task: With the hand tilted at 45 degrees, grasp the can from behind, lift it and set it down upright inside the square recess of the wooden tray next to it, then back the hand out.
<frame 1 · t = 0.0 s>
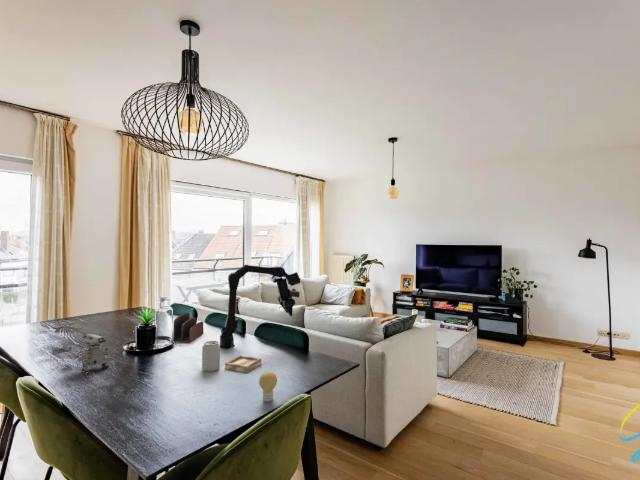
hand: (289, 314, 195), 15 cm above the table, tool pointing down, fingers open, 9 cm apart
wooden tray: (243, 366, 155), on the table
letter holder: (188, 338, 200), on the table
figurine: (93, 369, 149), on the table
light bulb: (267, 400, 122), on the table
can: (210, 369, 151), on the table
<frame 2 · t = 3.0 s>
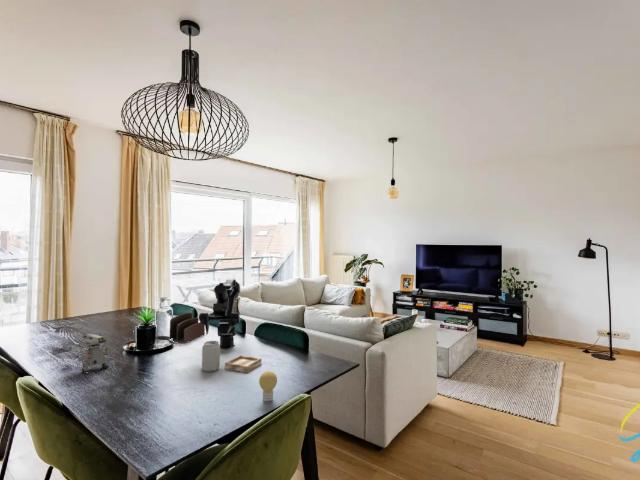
hand: (216, 333, 159), 14 cm above the table, tool tilted 45°, fingers open, 9 cm apart
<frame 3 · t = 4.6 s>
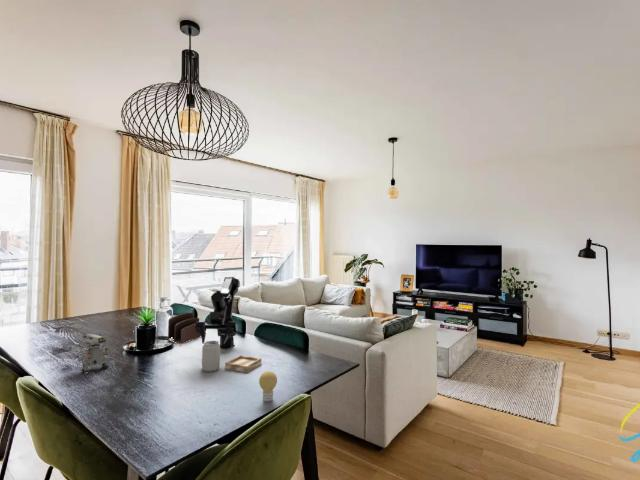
hand: (213, 343, 155), 10 cm above the table, tool tilted 45°, fingers open, 9 cm apart
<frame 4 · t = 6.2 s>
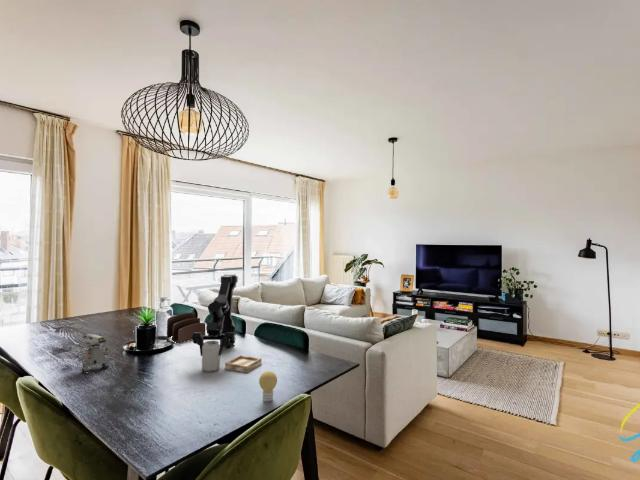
hand: (210, 355, 150), 7 cm above the table, tool tilted 45°, fingers closed on can, 7 cm apart
can: (210, 369, 151), on the table, touching gripper
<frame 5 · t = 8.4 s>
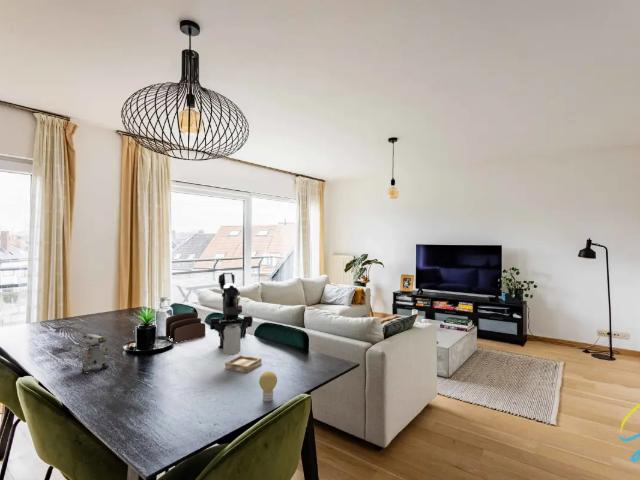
hand: (232, 339, 152), 13 cm above the table, tool tilted 45°, fingers closed on can, 7 cm apart
can: (231, 353, 153), point 6 cm above the table, touching gripper
when the fingers open (9 cm above the table, at t = 10.5 s): can stays where it is, resting on wooden tray.
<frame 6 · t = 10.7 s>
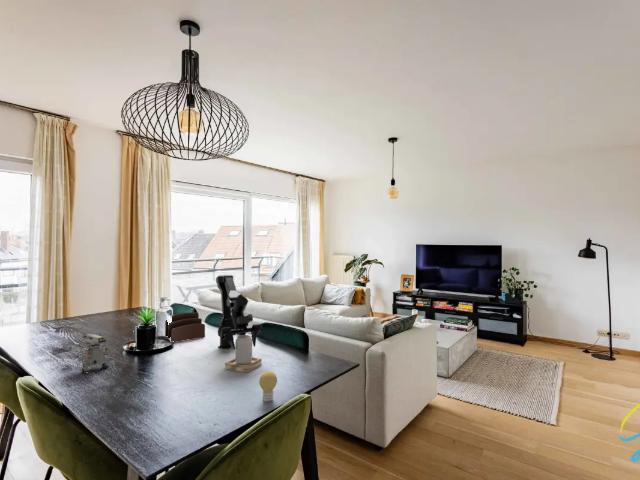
hand: (244, 347, 154), 9 cm above the table, tool tilted 45°, fingers open, 9 cm apart
can: (243, 363, 156), point 1 cm above the table, touching wooden tray
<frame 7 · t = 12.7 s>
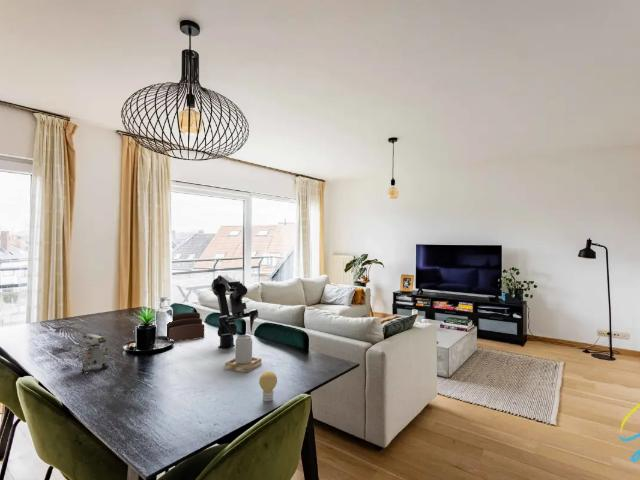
hand: (241, 333, 164), 12 cm above the table, tool tilted 30°, fingers open, 9 cm apart
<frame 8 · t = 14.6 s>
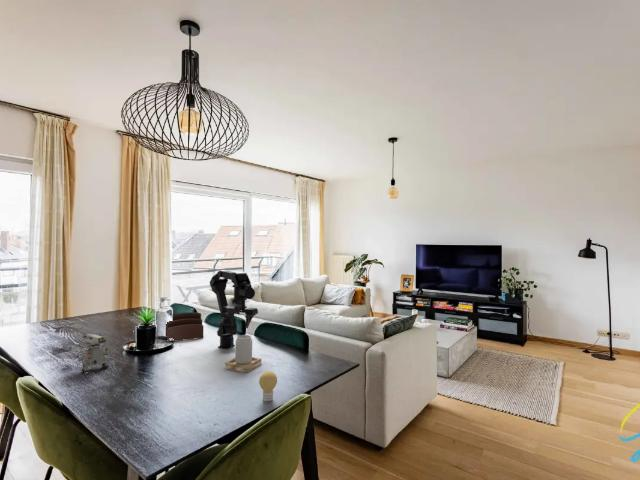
hand: (239, 327, 174), 13 cm above the table, tool pointing down, fingers open, 9 cm apart
at the end: can 0.1 cm off-centre on the wooden tray, point 1.3 cm above the wooden tray's base; can tilted 0°; the gripper is holding nothing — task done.
